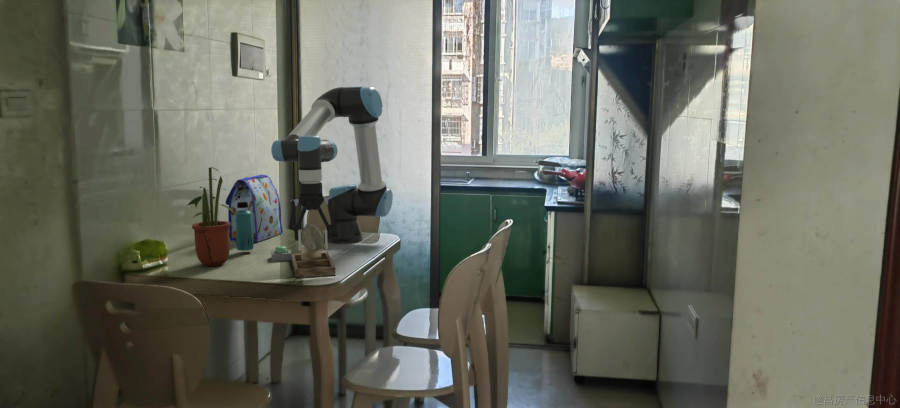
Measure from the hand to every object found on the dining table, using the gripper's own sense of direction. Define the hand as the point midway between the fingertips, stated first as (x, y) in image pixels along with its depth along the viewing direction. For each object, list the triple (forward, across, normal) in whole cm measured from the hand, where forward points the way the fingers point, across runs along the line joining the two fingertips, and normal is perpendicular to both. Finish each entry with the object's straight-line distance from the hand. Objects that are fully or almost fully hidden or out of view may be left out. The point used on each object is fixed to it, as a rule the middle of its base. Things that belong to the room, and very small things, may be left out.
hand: (313, 248), depth 235 cm
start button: (+7, +10, -22) cm, 25 cm away
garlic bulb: (0, 0, 0) cm, 0 cm away
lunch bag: (+8, +19, -73) cm, 76 cm away
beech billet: (+7, 0, -12) cm, 14 cm away
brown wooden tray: (+8, 0, -6) cm, 10 cm away
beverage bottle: (+8, +23, -42) cm, 49 cm away
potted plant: (+9, +33, -22) cm, 41 cm away
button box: (+8, +10, -22) cm, 26 cm away
